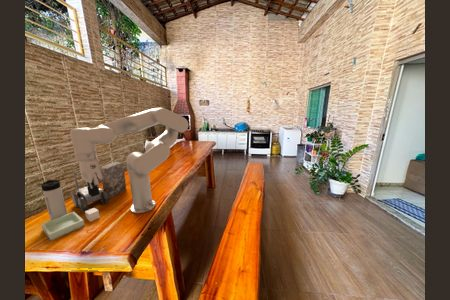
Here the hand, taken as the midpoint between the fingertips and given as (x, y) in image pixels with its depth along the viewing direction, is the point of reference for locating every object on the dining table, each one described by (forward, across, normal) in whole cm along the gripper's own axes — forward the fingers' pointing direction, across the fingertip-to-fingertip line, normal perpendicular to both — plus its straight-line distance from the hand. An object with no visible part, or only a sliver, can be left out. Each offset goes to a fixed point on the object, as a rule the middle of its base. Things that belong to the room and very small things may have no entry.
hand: (94, 194), depth 78 cm
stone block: (+15, +26, -20) cm, 36 cm away
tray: (+15, +10, +10) cm, 21 cm away
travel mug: (+15, +22, +10) cm, 28 cm away
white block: (+15, +8, 0) cm, 17 cm away
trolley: (+15, +24, -5) cm, 28 cm away
